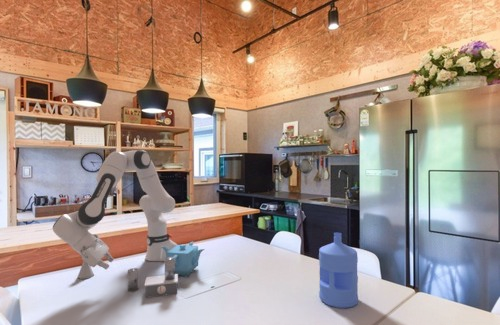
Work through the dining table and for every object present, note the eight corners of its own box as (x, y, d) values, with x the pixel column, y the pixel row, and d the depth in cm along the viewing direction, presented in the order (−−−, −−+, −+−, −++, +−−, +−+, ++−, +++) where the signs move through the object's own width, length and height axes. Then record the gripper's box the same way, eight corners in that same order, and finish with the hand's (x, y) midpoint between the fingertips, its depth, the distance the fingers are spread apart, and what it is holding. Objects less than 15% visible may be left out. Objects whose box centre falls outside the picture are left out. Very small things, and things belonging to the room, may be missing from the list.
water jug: (328, 288, 130) (327, 227, 131) (363, 298, 120) (362, 232, 121) (312, 301, 118) (312, 234, 119) (350, 313, 108) (349, 240, 109)
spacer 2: (171, 275, 132) (171, 256, 132) (176, 278, 129) (176, 258, 129) (163, 278, 129) (162, 258, 129) (168, 281, 126) (167, 260, 126)
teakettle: (171, 282, 138) (171, 252, 138) (160, 270, 154) (160, 243, 154) (207, 274, 149) (206, 246, 149) (193, 263, 164) (192, 238, 164)
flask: (74, 277, 145) (74, 258, 145) (88, 273, 151) (88, 254, 151) (83, 280, 141) (83, 260, 141) (96, 275, 148) (96, 256, 148)
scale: (177, 285, 134) (177, 273, 134) (178, 294, 126) (177, 281, 126) (146, 289, 131) (146, 277, 131) (144, 298, 122) (144, 285, 122)
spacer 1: (135, 286, 134) (135, 267, 134) (139, 289, 131) (139, 269, 131) (126, 289, 131) (126, 270, 131) (130, 292, 128) (130, 272, 128)
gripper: (84, 245, 116) (110, 266, 119) (97, 233, 136) (119, 252, 139) (72, 257, 115) (99, 278, 118) (87, 243, 135) (109, 262, 137)
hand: (110, 264), depth 128 cm, fingers open, 8 cm apart
